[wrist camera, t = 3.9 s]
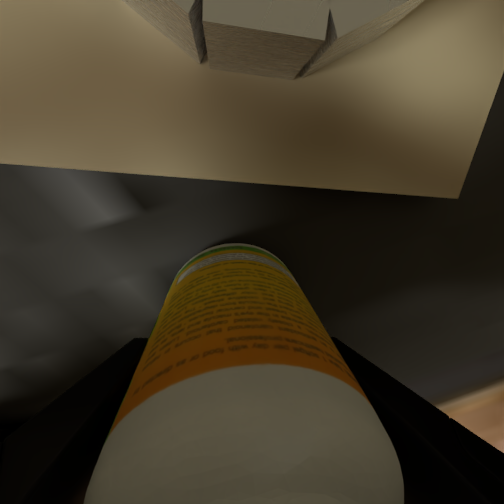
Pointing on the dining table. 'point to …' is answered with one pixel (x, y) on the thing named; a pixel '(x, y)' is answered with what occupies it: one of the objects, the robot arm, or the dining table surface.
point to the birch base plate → (249, 101)
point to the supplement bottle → (243, 400)
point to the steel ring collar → (271, 31)
